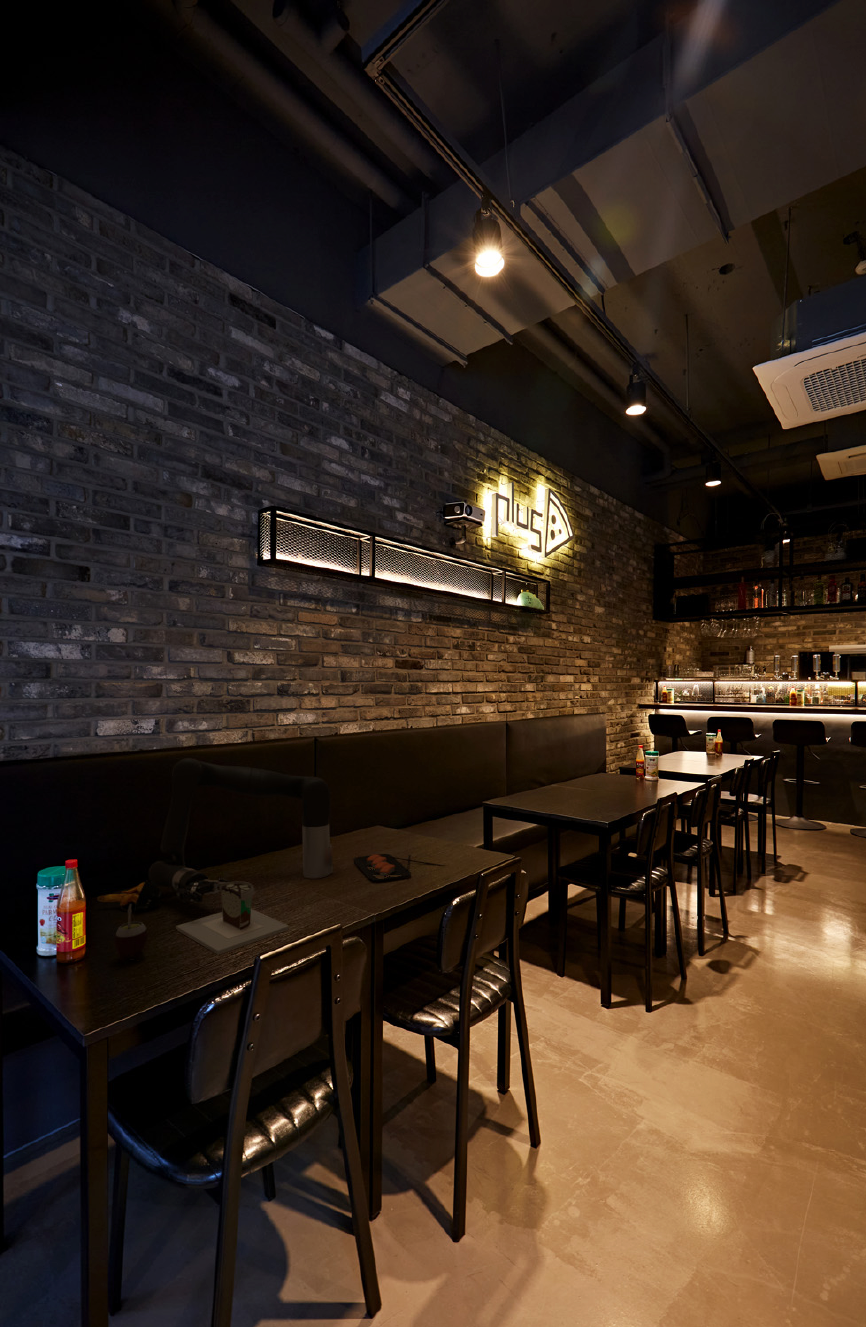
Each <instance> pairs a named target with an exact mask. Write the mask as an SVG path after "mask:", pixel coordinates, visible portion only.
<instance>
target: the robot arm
mask: <svg viewBox="0 0 866 1327" xmlns="http://www.w3.org/2000/svg"><path fill="white" fill-rule="evenodd" d="M171 777H172V782H171V784H172V789H171V798H170V804H169V808H168V812H167V817H166V821H165V824H164V828H163V834H162V838H161V841H160V842H161V843H160V851H161V852H162V853H164V854H168V855H171V856H172V860H157V861H155V862H153V863H151V866H150V867H149V869H148V880H149V881H150V882H151V883H153V884H155V885H156V886H157V887H158V886H159V887H165V888H171V889H172V890H174V891H176V892H175V893H176V899H178V900H179V901H181V902H182V903H187V902H188V901H189V900H190V901H191V902H193V901H194V902H196V903H202V902H203V896H204V895H210V894H218V893H219V892H220V893H221V891H220V886H221V884H222V883H227V882H232V880H231V879H228V878H225V877H222V876H219V877H218V878H217V879H216V880H215V879H213V880H212V879H209V877H208V876H207V875H206V874H205V873H203V872H201V871H199V870H196V869H194V868H189V867H188V866H186V863H185V845H186V840H187V835H188V830H189V825H190V824H189V822H190V815H191V814H190V812H191V808H192V803H193V799H194V795H195V792H196V790H197V787H198V786H199V787H211V788H212V787H213V788H218V789H221V790H225V791H228V792H231V793H235V794H239V795H244V796H250V797H261V798H266V797H267V798H271V797H288V798H294V799H298V800H301V801H302V819H301V824H302V825H301V828H302V829H301V830H302V831H301V832H302V868H303V869H302V873H303V875H302V876H303V878H305V879H321V878H322V879H323V878H326V877H328V876H330V875H331V874H333V873H334V870H333V869H334V868H333V864H334V863H333V845H332V844H331V843H330V842H331V839H330V818H331V792H330V790H331V789H330V788H329V785H328V783H327V782H326V781H325V780H323V779H322V778H321V777H320V776H319V777H318V776H303V775H302V776H301V775H289V774H285V773H281V772H277V771H273V770H267V769H264V768H258V767H257V768H256V767H249V766H238V765H236V766H235V765H220V764H219V765H218V764H214V763H211V762H206V761H202V760H198V759H196V758H192V757H187V758H183V759H180V760H179V761H178V762H176V764H174V765H173V768H172V770H171Z"/></svg>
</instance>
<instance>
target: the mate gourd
mask: <svg viewBox="0 0 866 1327" xmlns="http://www.w3.org/2000/svg"><path fill="white" fill-rule="evenodd" d="M131 906H132V904H129V909H128V911H127V923H123V924H122V925H121V926H119V927H118V928H117V930H116V933H115V938H114V945H115V949H116V951H117V952H118V955H119V958H120V961H119V965H120V964H122V965H124V964H125V963H124V962H126V963H128V962H129V961H128V960H130V959H134V960H142V961H143V958H142V957H141V956H142V955H143V954H144V952H143V951H144V948H145V947H146V944H147V940H148V939H147V938H148V931H147V926H146V925H145V924H144V923H143V922H141V921H132V920H131V919H132V911H133V910H131ZM141 954H142V955H141ZM134 960H133V961H134ZM127 961H128V962H127ZM130 961H131V960H130ZM123 963H124V964H123Z"/></svg>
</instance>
